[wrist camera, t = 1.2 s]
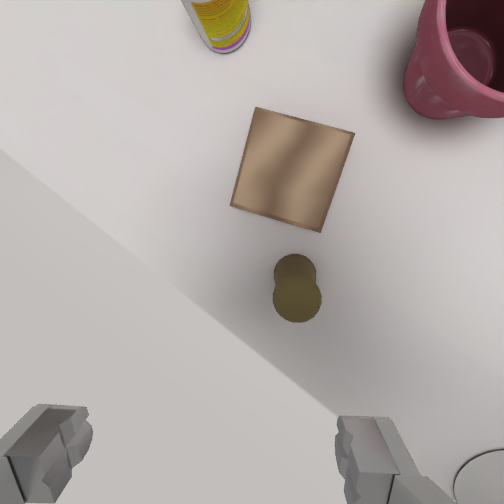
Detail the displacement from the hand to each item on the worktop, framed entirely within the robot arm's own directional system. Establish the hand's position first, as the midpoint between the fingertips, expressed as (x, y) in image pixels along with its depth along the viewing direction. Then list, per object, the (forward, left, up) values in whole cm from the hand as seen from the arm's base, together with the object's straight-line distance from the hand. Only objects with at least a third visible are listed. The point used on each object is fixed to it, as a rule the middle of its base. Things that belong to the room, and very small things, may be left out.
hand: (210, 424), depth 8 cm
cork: (-4, +2, -29) cm, 30 cm away
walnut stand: (+1, -11, -29) cm, 31 cm away
